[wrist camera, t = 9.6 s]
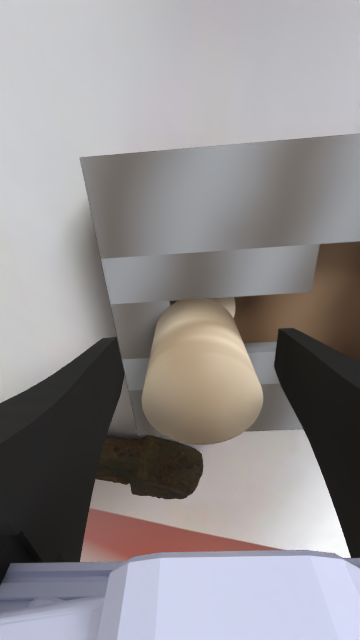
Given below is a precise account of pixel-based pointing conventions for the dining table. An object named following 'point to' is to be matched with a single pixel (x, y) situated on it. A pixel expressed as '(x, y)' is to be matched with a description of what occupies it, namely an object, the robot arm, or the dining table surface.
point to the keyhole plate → (232, 248)
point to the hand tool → (151, 466)
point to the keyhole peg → (200, 374)
